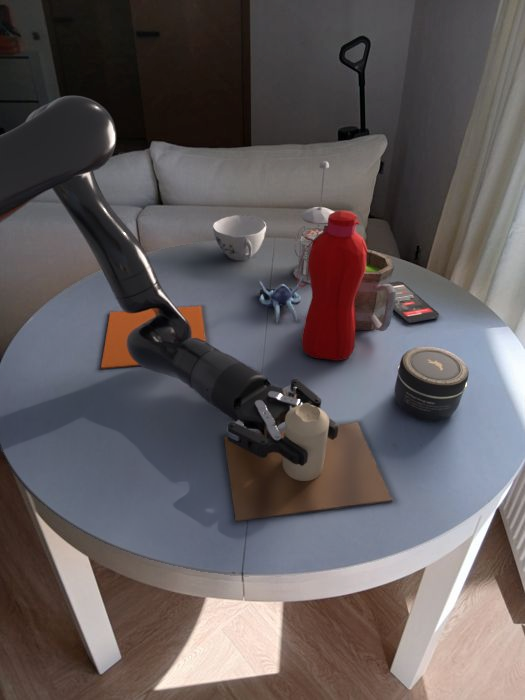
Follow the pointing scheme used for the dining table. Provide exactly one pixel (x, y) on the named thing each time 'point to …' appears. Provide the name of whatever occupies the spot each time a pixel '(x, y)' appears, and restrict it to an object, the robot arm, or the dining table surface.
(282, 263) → the dining table surface
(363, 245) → the water bottle
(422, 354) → the jar
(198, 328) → the towel
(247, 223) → the teacup
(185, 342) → the robot arm
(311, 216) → the french press
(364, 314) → the mug
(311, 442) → the candle
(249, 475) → the brown flat board
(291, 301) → the figurine
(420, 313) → the smartphone
